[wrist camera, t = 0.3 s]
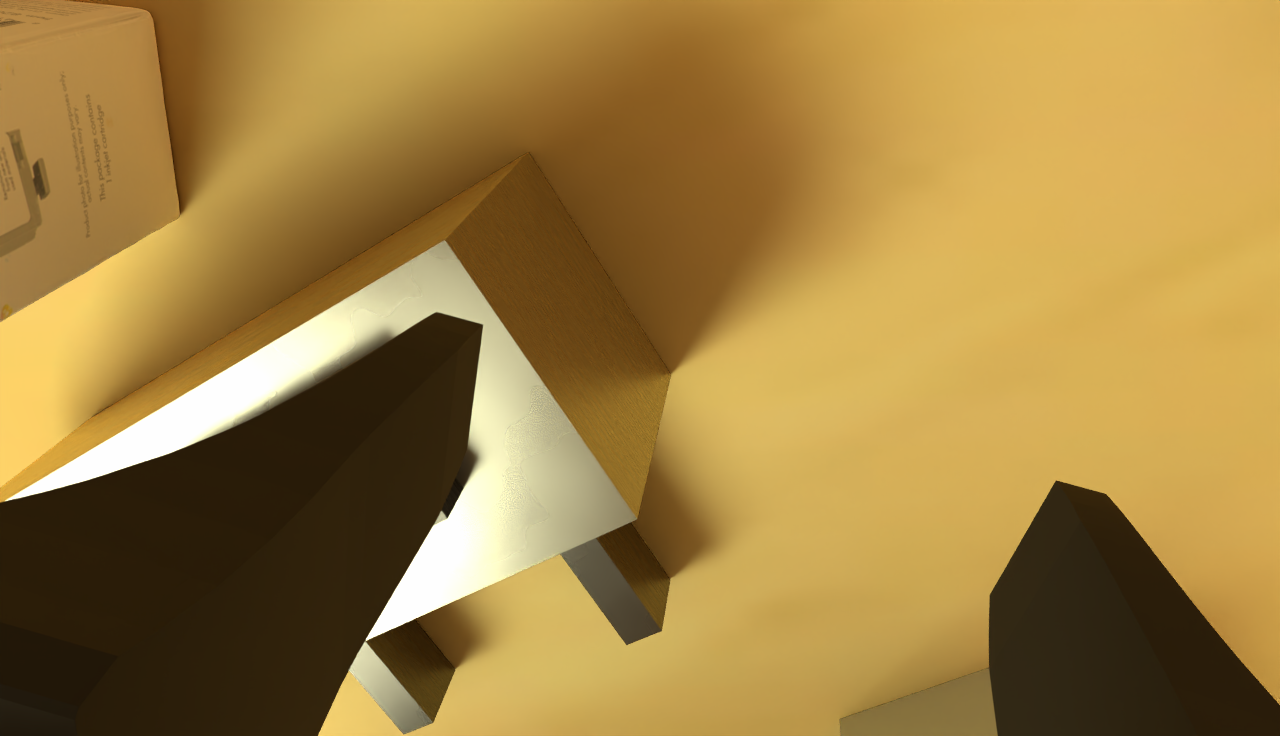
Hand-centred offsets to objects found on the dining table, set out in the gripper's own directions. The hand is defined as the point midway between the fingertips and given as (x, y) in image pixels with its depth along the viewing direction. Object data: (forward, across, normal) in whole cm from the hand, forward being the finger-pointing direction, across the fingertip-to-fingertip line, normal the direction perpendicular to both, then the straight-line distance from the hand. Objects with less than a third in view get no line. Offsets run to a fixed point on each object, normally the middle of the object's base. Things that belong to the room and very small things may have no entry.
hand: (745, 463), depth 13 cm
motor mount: (+9, +7, +11) cm, 16 cm away
